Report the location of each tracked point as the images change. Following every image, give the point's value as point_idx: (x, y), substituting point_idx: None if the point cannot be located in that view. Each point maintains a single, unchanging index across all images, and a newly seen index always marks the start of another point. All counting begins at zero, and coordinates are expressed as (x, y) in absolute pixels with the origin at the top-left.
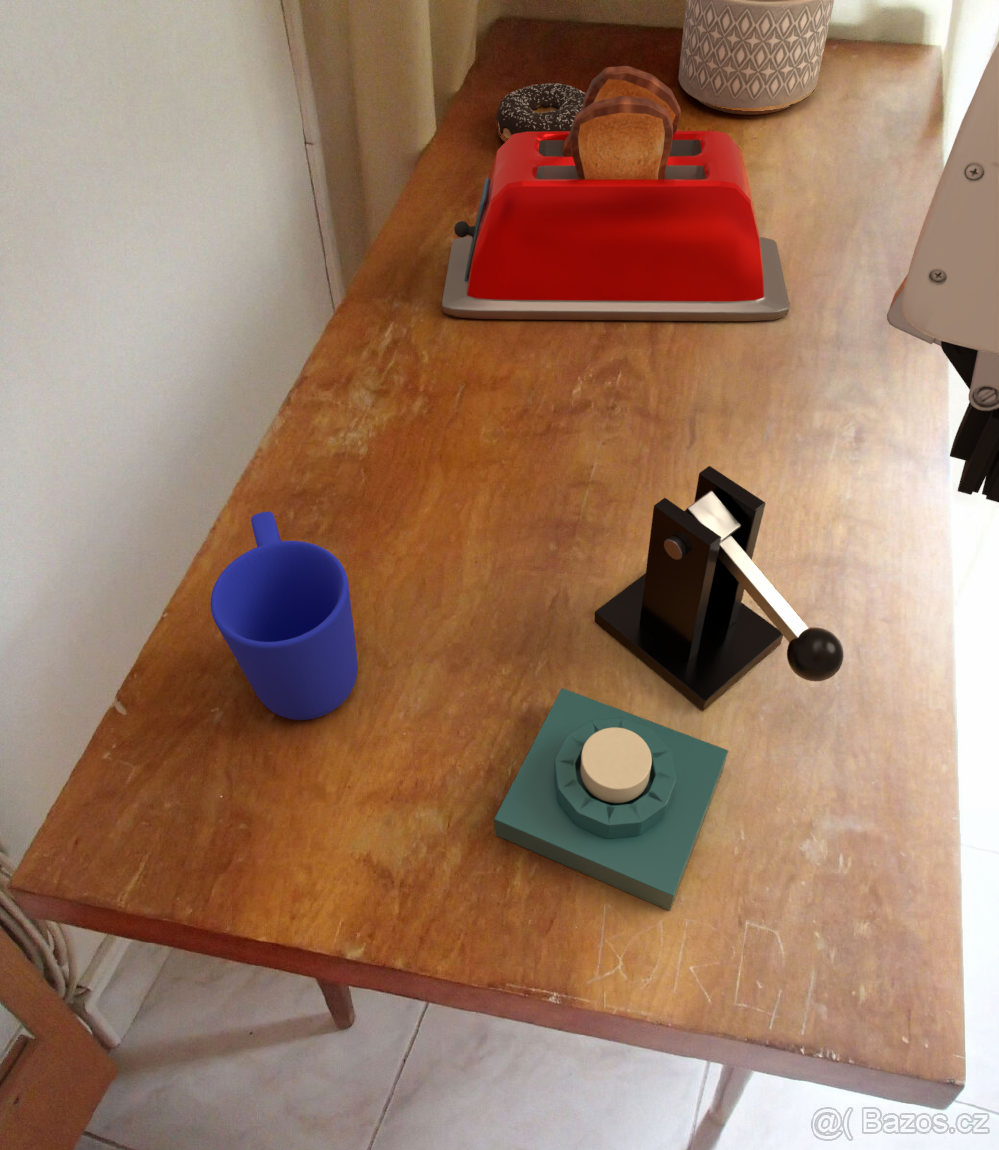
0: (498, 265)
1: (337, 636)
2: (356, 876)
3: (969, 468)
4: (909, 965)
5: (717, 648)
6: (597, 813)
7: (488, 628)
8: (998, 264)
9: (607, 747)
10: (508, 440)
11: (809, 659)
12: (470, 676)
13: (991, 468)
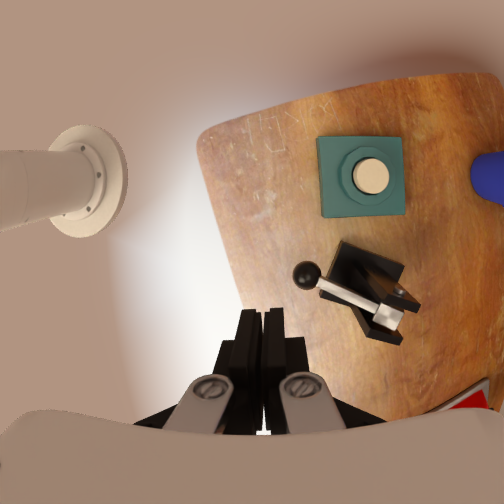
0: (478, 405)
1: (497, 174)
2: (427, 103)
3: (282, 322)
4: (217, 166)
5: (346, 274)
6: (366, 150)
7: (439, 236)
8: None
9: (379, 179)
10: (457, 336)
11: (309, 267)
12: (436, 208)
13: (261, 338)
